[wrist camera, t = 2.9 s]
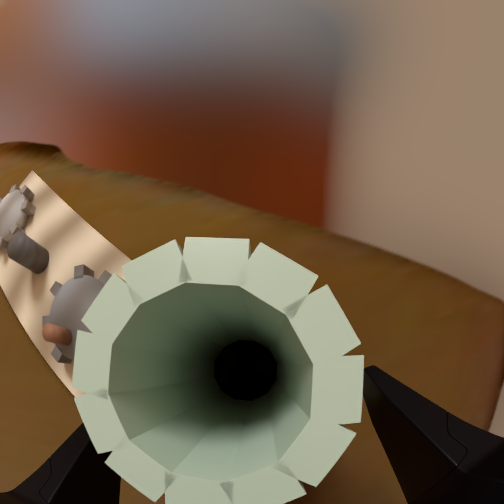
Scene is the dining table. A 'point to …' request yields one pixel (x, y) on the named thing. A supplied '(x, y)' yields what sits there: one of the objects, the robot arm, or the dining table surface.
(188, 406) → the gear sleeve
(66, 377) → the gear board
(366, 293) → the dining table surface
